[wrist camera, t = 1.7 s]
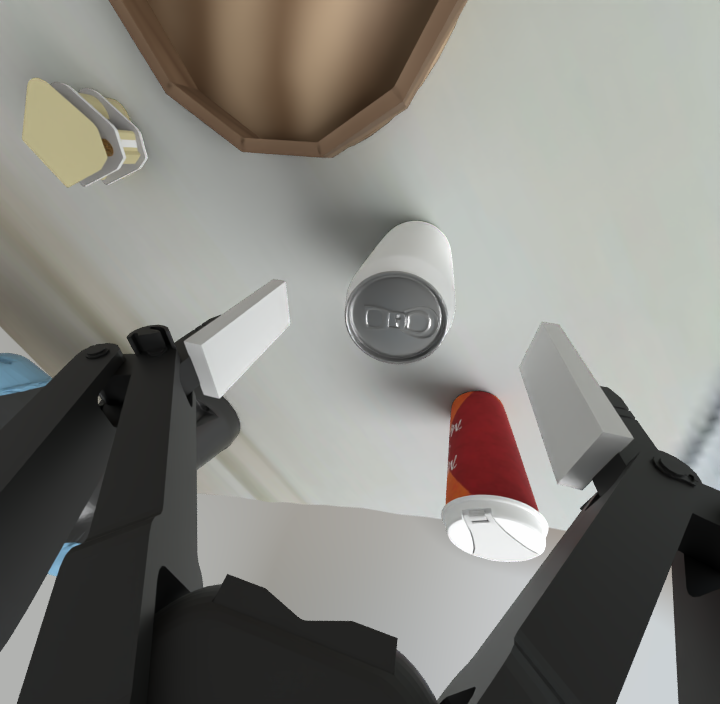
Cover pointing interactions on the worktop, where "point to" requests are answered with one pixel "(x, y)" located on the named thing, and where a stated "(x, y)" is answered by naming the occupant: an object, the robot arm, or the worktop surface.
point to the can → (403, 295)
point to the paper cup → (489, 485)
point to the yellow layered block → (81, 134)
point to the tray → (291, 64)
